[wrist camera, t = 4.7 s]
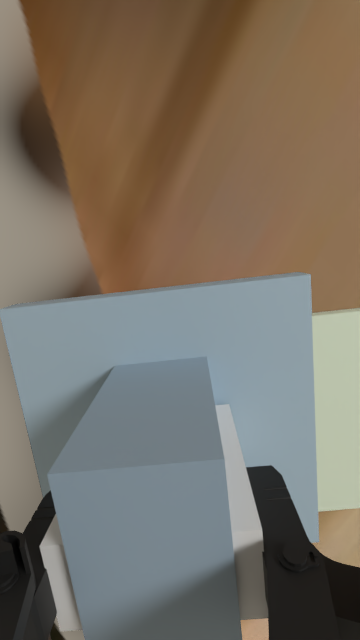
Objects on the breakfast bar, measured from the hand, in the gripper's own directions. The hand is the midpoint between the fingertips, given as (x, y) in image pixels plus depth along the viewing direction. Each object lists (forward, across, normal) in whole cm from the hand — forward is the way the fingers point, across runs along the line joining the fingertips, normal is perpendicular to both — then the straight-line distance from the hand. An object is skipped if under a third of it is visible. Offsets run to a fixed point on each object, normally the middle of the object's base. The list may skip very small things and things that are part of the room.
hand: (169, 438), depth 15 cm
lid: (+2, 0, 0) cm, 2 cm away
